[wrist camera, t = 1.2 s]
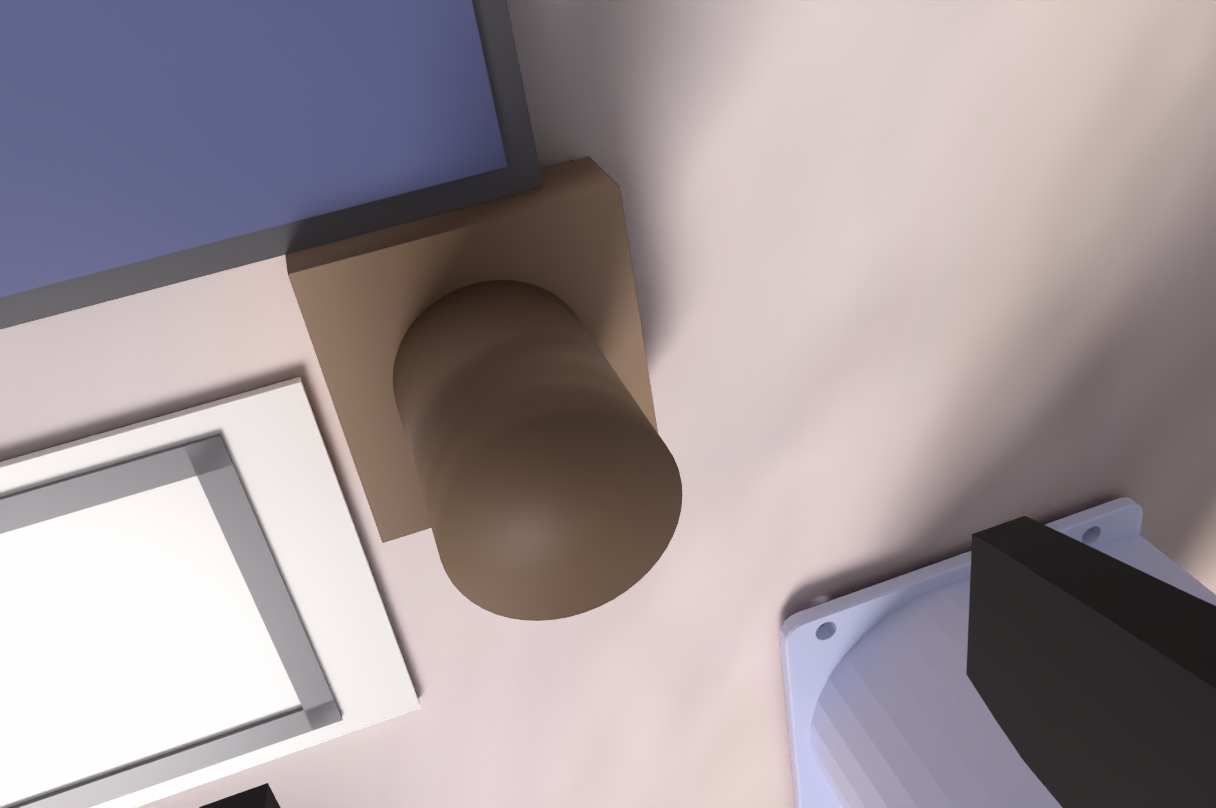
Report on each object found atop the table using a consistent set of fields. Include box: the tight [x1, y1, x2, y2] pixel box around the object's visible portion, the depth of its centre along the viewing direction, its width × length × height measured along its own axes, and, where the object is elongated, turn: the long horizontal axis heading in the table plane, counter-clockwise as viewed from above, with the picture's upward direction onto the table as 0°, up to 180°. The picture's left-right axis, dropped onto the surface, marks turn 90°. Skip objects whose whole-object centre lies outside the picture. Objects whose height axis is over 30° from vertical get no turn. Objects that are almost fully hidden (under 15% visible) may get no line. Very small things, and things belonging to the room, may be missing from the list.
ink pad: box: [0, 0, 543, 329], centre depth 14 cm, size 9×7×1 cm
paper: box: [0, 377, 421, 808], centre depth 19 cm, size 10×8×1 cm
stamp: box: [285, 156, 682, 621], centre depth 16 cm, size 5×5×6 cm
